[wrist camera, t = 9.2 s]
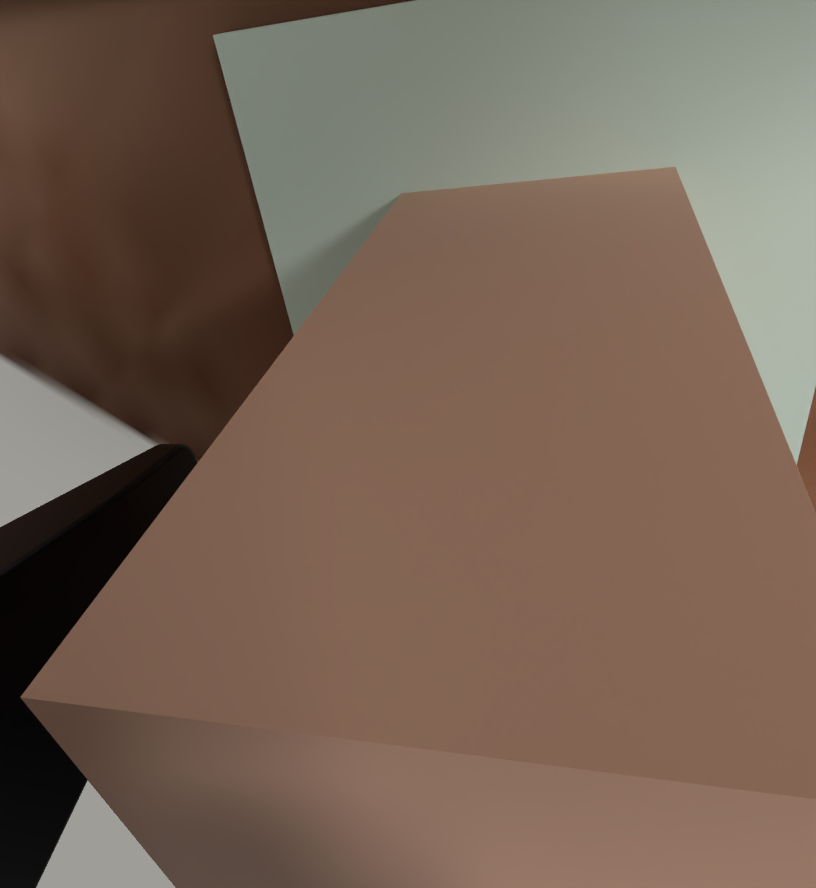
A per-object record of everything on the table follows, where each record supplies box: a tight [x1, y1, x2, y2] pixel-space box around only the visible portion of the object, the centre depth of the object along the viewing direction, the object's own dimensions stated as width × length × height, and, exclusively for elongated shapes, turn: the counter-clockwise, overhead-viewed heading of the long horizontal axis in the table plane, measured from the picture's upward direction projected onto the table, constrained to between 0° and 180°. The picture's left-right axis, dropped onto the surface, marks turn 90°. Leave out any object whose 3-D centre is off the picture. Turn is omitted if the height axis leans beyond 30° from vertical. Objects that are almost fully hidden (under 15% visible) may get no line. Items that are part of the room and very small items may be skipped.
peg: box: [20, 167, 816, 888], centre depth 8 cm, size 4×4×10 cm
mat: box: [213, 0, 816, 465], centre depth 12 cm, size 10×10×1 cm
